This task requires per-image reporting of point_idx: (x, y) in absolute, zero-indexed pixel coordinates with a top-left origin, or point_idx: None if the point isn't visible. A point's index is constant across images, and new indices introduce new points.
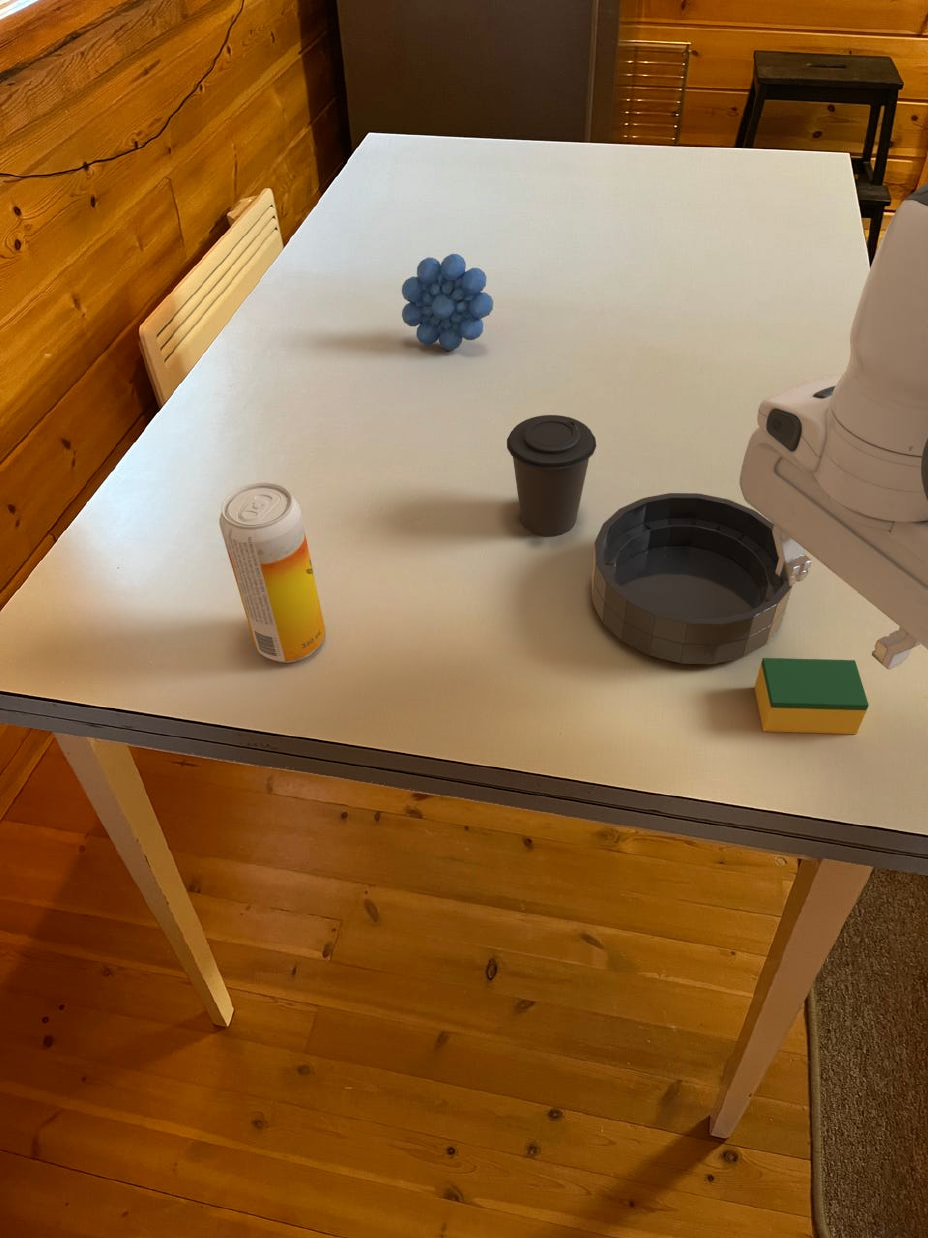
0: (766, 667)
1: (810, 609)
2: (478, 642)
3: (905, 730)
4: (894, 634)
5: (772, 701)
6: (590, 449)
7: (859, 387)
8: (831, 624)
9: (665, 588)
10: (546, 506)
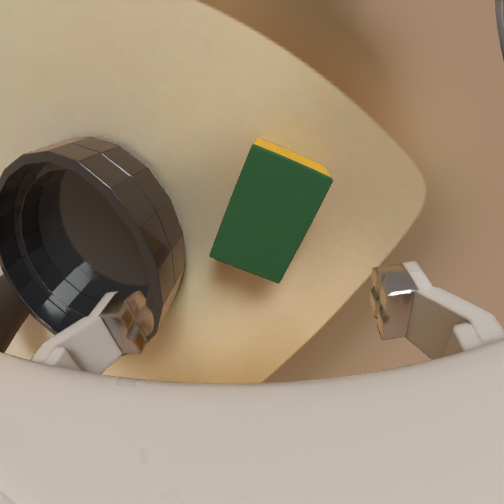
0: (225, 261)
1: (128, 109)
2: (134, 376)
3: (341, 109)
4: (391, 305)
5: (277, 282)
6: None
7: None
8: (156, 95)
9: (83, 254)
10: (21, 320)
